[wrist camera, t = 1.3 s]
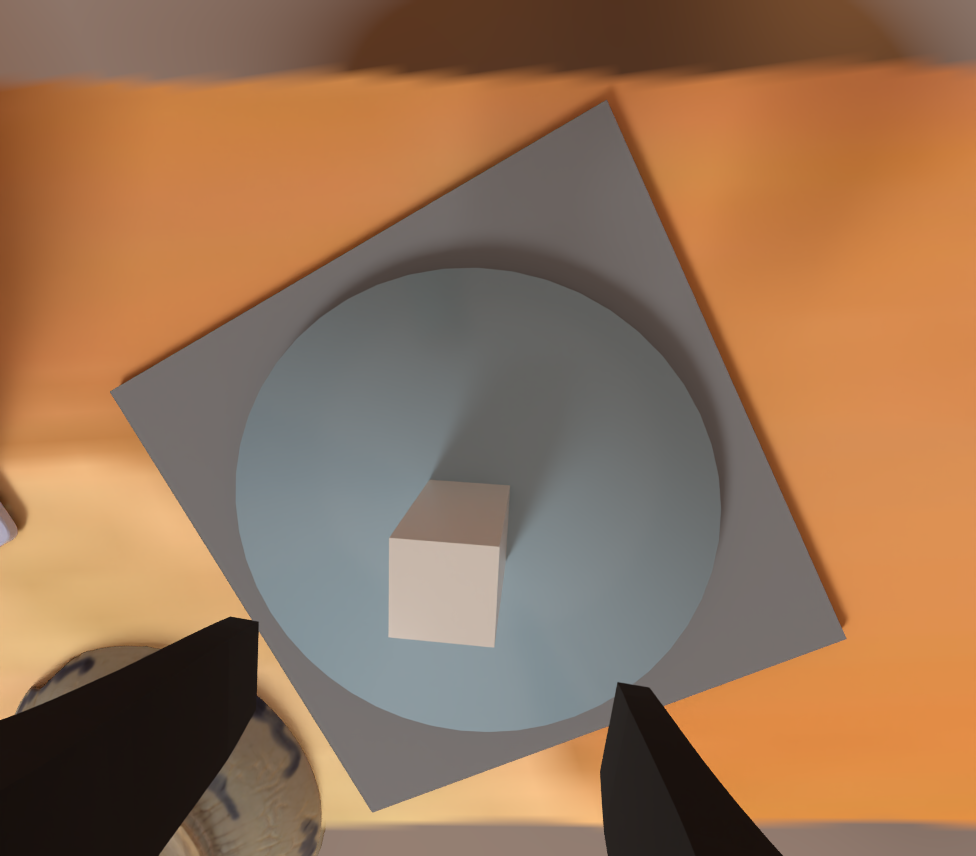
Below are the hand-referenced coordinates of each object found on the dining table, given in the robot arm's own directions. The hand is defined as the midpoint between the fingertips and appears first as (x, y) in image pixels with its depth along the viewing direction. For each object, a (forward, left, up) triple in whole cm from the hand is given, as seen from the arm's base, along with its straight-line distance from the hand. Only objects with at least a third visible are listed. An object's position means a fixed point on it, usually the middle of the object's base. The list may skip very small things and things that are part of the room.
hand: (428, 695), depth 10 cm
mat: (-1, 0, -9) cm, 9 cm away
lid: (-1, 0, -9) cm, 9 cm away
